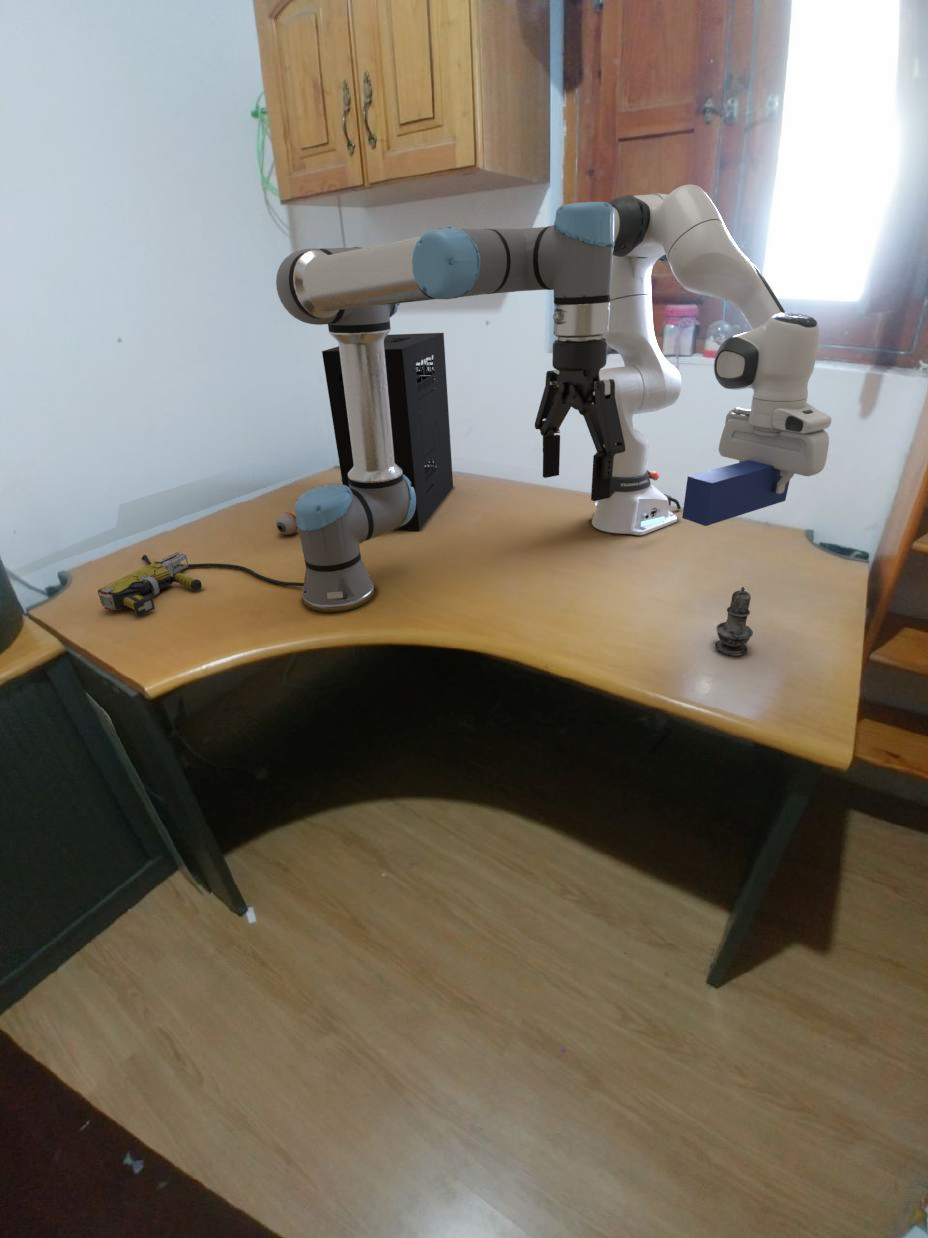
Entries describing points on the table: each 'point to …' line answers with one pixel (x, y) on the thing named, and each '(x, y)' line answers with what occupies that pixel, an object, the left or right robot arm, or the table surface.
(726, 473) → the bar
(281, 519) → the eyeball
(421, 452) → the black tall block
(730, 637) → the chess piece
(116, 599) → the toy gun
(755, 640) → the table surface
